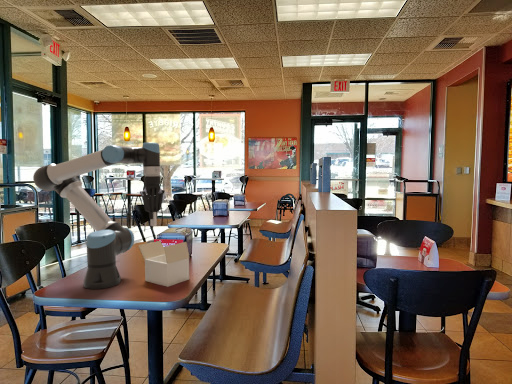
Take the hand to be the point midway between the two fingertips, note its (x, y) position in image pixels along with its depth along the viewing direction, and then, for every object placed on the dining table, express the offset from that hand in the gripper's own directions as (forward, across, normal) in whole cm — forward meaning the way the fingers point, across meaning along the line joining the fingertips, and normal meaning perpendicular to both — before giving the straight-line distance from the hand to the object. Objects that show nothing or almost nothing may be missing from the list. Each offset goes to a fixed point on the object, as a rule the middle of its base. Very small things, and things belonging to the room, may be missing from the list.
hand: (153, 225), depth 168 cm
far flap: (+11, 0, +1) cm, 11 cm away
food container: (+25, +25, +31) cm, 47 cm away
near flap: (+11, 0, -15) cm, 19 cm away
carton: (+25, 0, -9) cm, 26 cm away
